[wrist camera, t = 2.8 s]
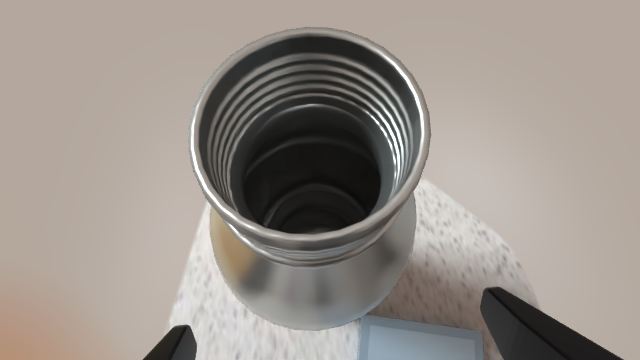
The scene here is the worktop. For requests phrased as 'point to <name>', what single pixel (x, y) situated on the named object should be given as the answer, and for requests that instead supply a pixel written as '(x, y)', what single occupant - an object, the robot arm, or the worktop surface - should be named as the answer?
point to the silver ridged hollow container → (311, 173)
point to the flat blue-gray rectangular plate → (416, 341)
